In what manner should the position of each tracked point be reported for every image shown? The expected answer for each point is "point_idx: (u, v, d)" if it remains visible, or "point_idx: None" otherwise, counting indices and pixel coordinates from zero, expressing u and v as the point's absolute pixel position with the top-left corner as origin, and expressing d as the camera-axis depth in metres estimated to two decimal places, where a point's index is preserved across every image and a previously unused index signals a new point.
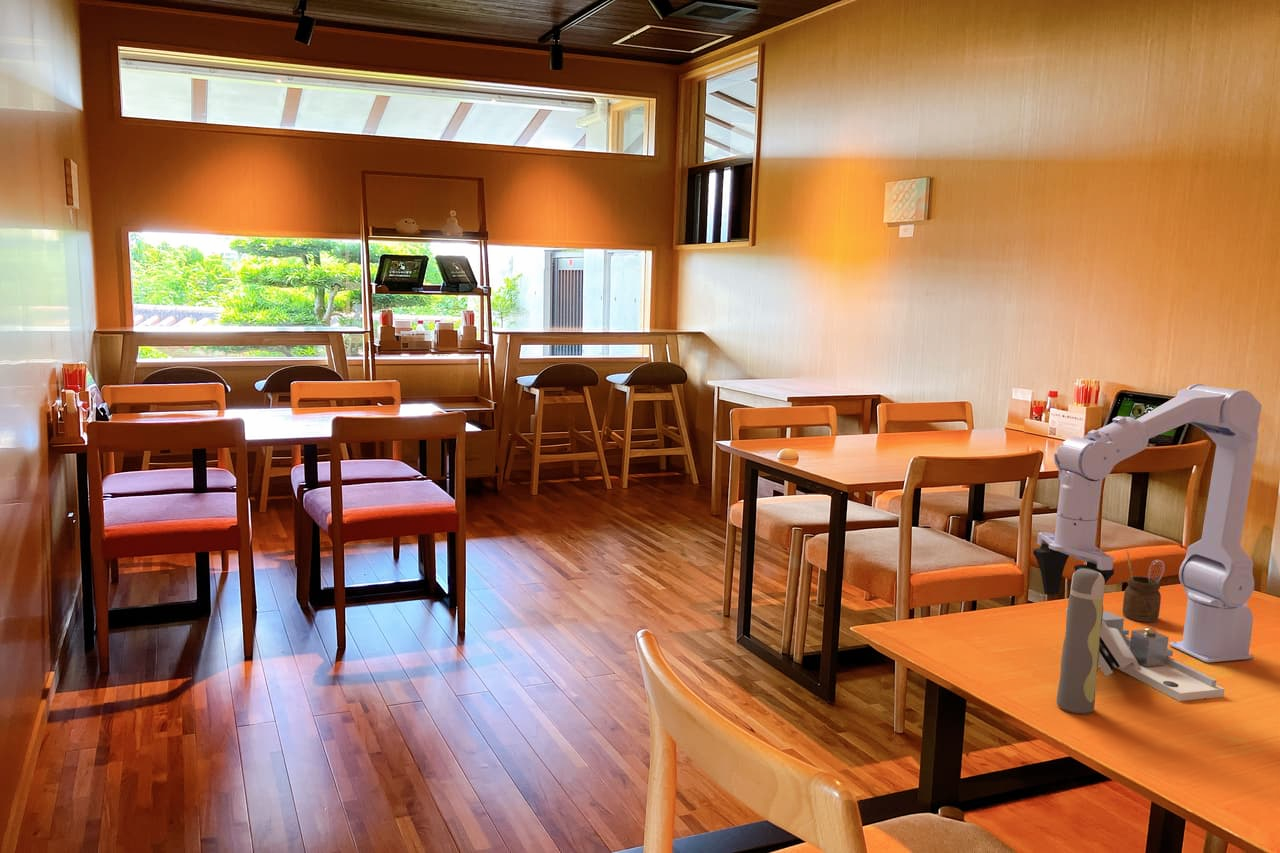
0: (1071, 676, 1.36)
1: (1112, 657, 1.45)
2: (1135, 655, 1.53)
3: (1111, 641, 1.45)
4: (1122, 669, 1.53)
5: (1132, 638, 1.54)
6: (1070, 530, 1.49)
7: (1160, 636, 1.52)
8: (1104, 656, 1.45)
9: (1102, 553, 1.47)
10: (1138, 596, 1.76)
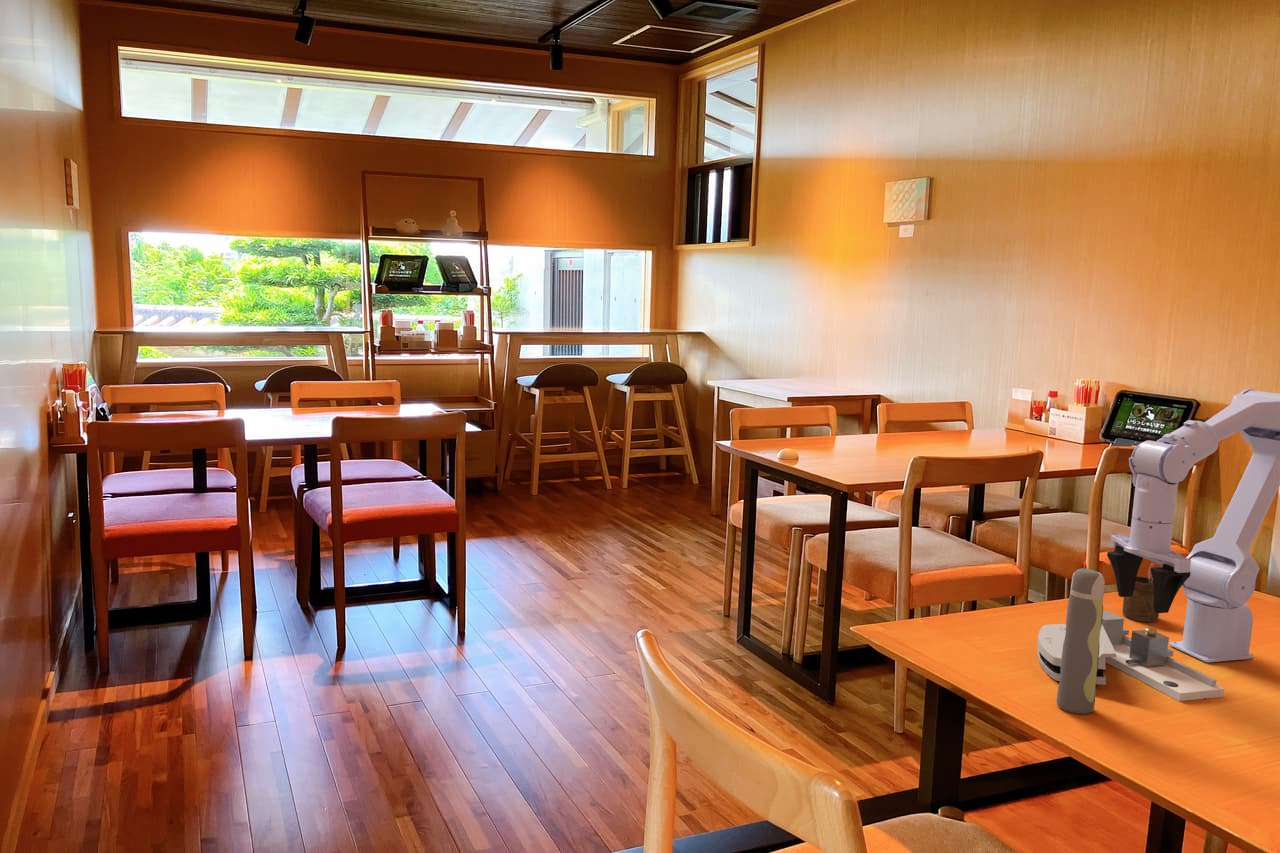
0: (1071, 676, 1.36)
1: None
2: (1135, 655, 1.53)
3: None
4: (1122, 669, 1.53)
5: (1132, 638, 1.54)
6: (1146, 533, 1.50)
7: (1160, 637, 1.51)
8: None
9: (1179, 556, 1.49)
10: (1138, 596, 1.76)
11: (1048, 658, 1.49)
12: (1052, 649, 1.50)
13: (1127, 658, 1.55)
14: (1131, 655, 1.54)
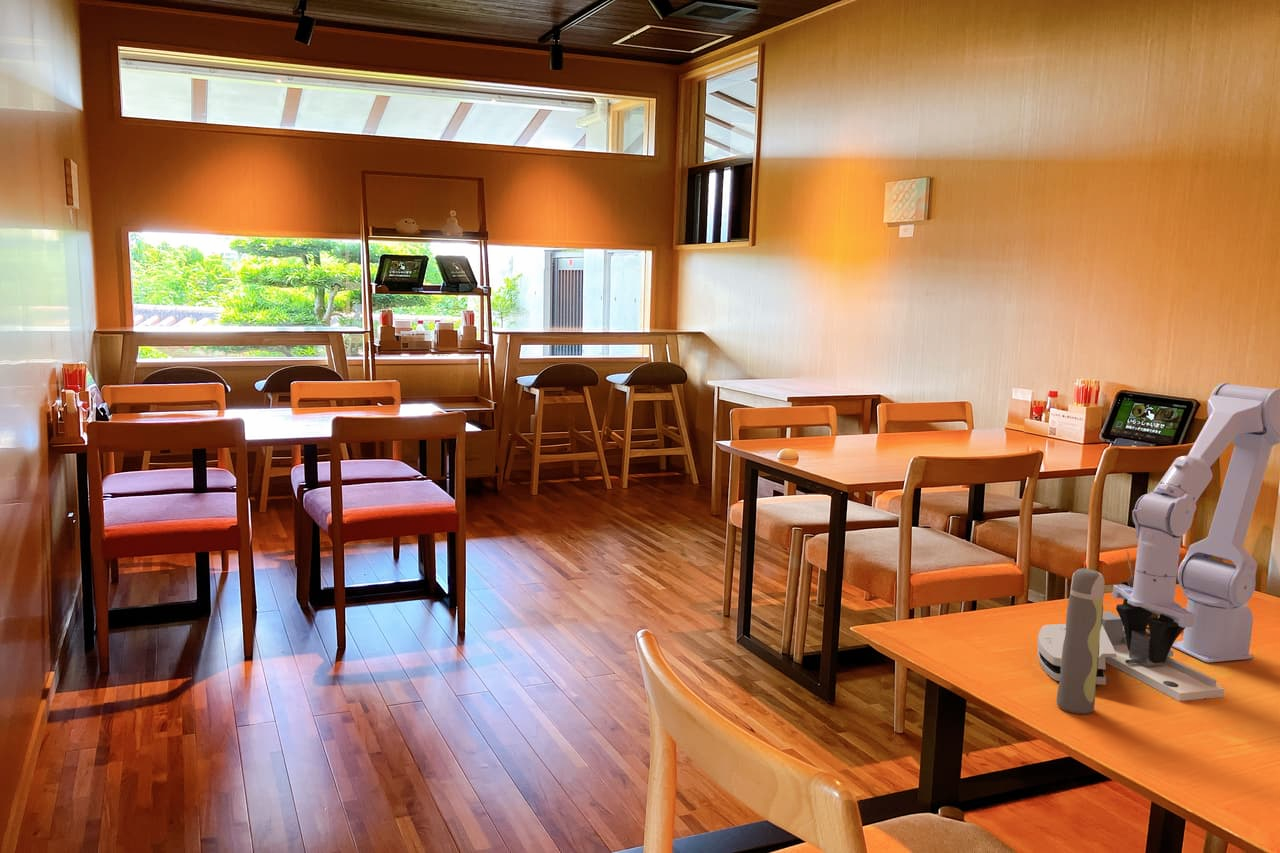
0: (1071, 676, 1.36)
1: None
2: (1135, 655, 1.53)
3: None
4: (1122, 669, 1.53)
5: (1132, 638, 1.54)
6: (1150, 586, 1.50)
7: None
8: None
9: (1183, 609, 1.48)
10: None
11: (1048, 658, 1.49)
12: (1052, 649, 1.50)
13: (1127, 658, 1.55)
14: (1131, 655, 1.54)
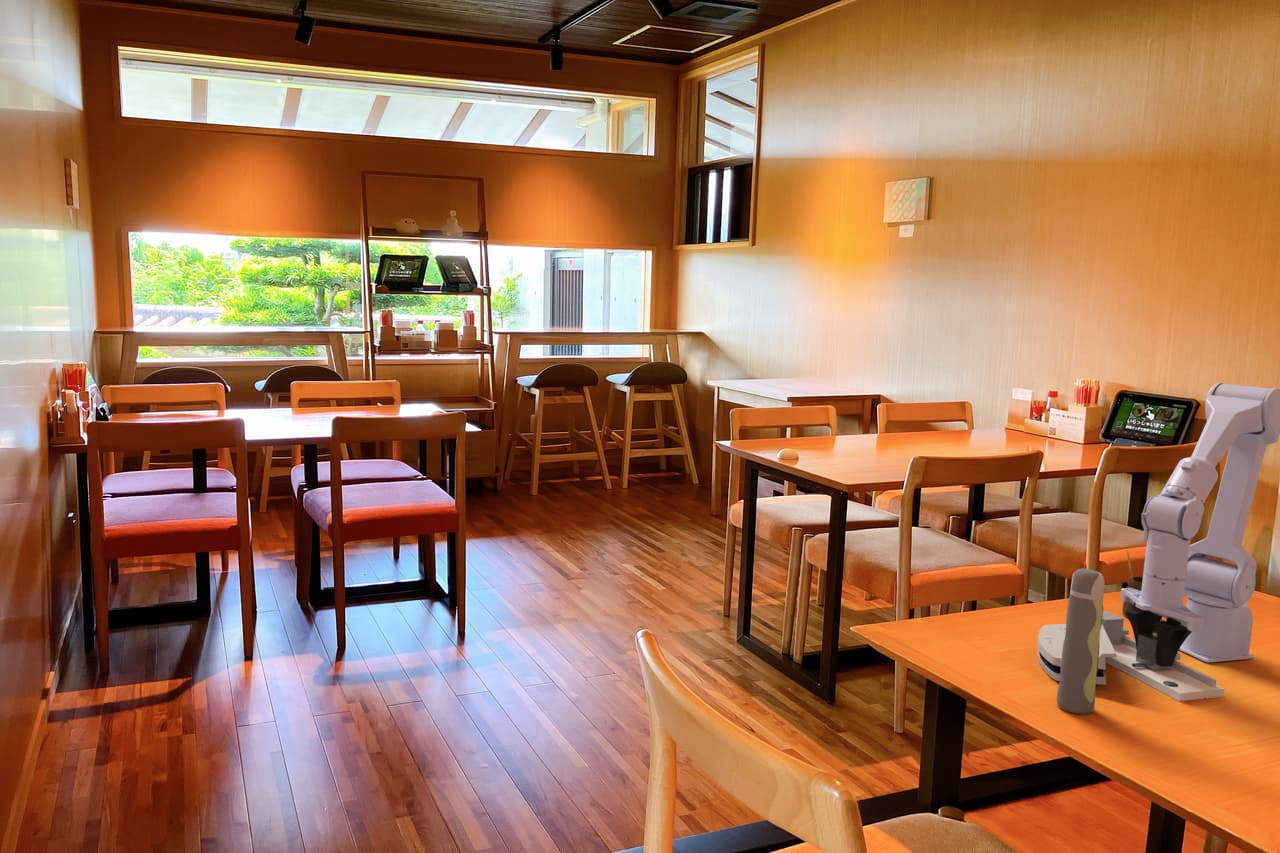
0: (1071, 676, 1.36)
1: None
2: (1142, 659, 1.52)
3: None
4: (1122, 669, 1.53)
5: (1139, 641, 1.52)
6: (1159, 589, 1.48)
7: None
8: None
9: (1192, 613, 1.46)
10: None
11: (1048, 658, 1.49)
12: (1052, 649, 1.50)
13: (1127, 658, 1.55)
14: (1138, 658, 1.53)
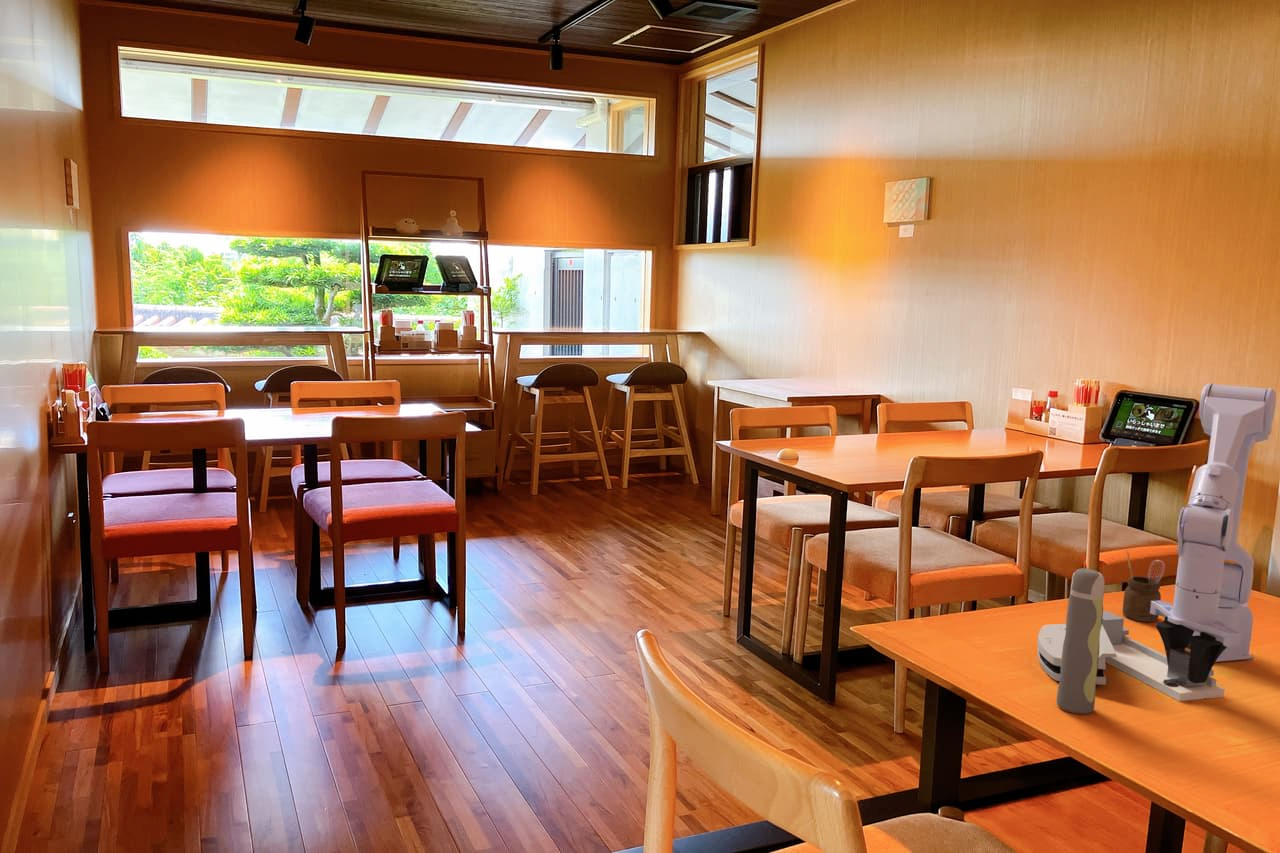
0: (1071, 676, 1.36)
1: None
2: (1174, 675, 1.46)
3: None
4: (1122, 669, 1.53)
5: (1171, 657, 1.46)
6: (1192, 603, 1.42)
7: None
8: None
9: (1227, 628, 1.40)
10: (1138, 596, 1.76)
11: (1048, 658, 1.49)
12: (1052, 649, 1.50)
13: (1127, 658, 1.55)
14: (1169, 674, 1.47)
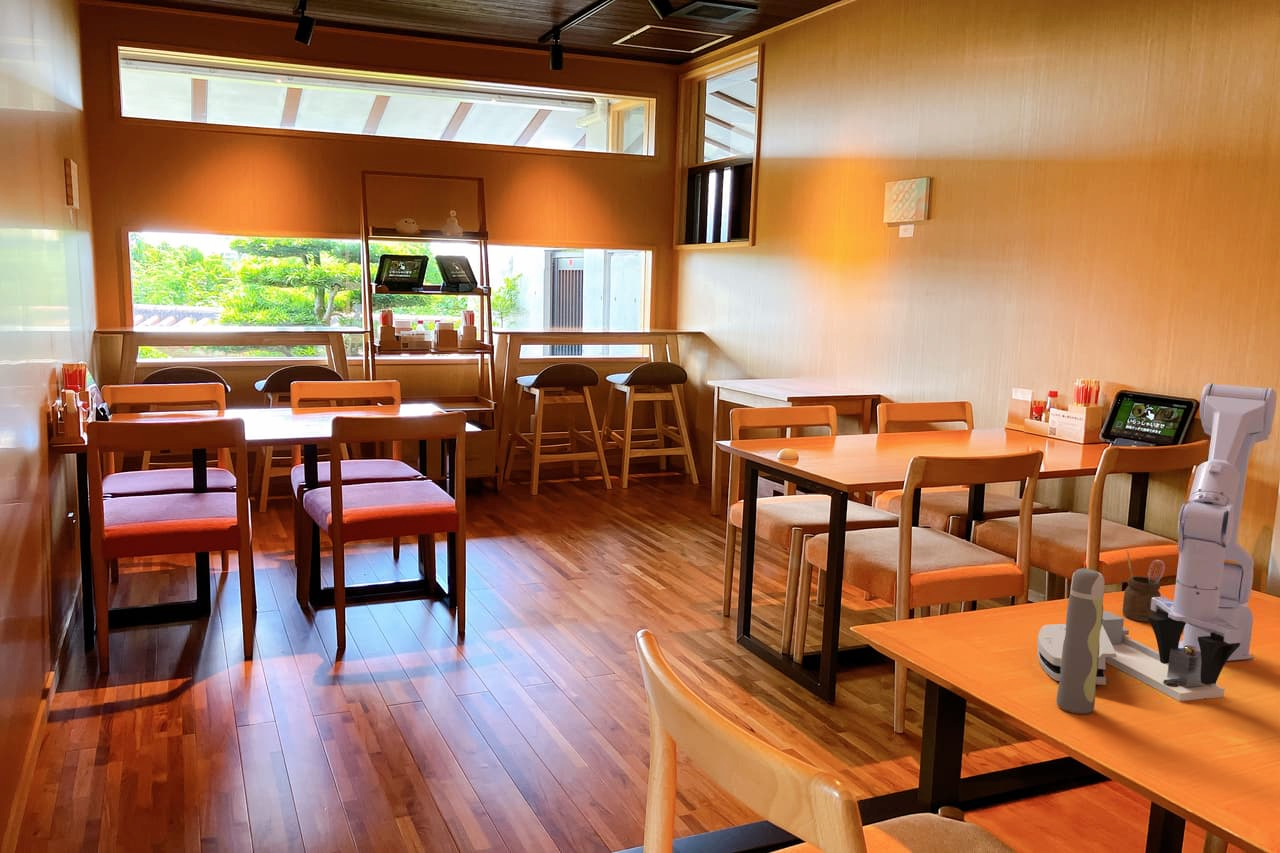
0: (1071, 676, 1.36)
1: None
2: (1174, 675, 1.46)
3: None
4: (1122, 669, 1.53)
5: (1171, 657, 1.46)
6: (1193, 599, 1.42)
7: None
8: None
9: (1228, 624, 1.40)
10: (1138, 596, 1.76)
11: (1048, 658, 1.49)
12: (1052, 649, 1.50)
13: (1127, 658, 1.55)
14: (1169, 674, 1.47)
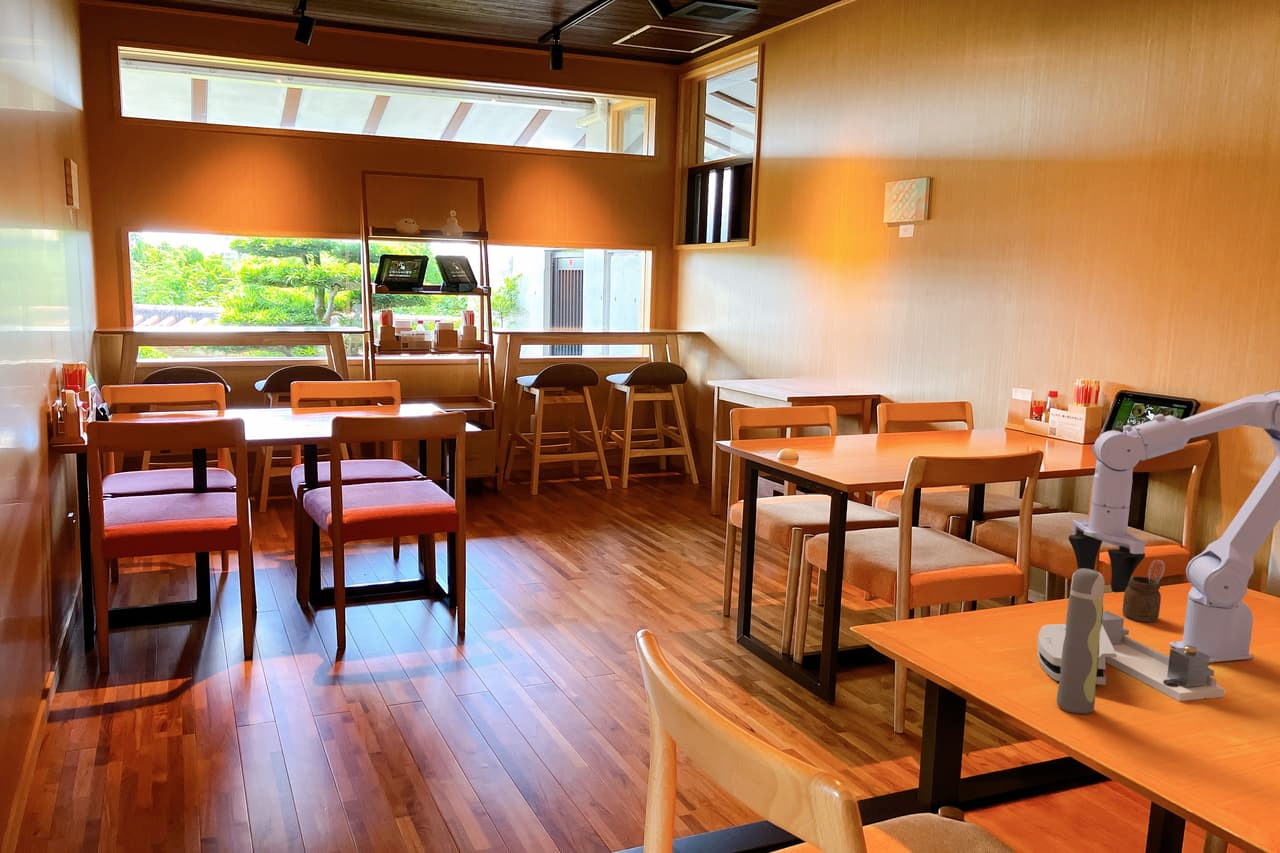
0: (1071, 676, 1.36)
1: None
2: (1174, 675, 1.46)
3: None
4: (1122, 669, 1.53)
5: (1171, 657, 1.46)
6: (1104, 517, 1.60)
7: (1201, 655, 1.44)
8: None
9: (1134, 538, 1.58)
10: (1138, 596, 1.76)
11: (1048, 658, 1.49)
12: (1052, 649, 1.50)
13: (1127, 658, 1.55)
14: (1169, 674, 1.47)
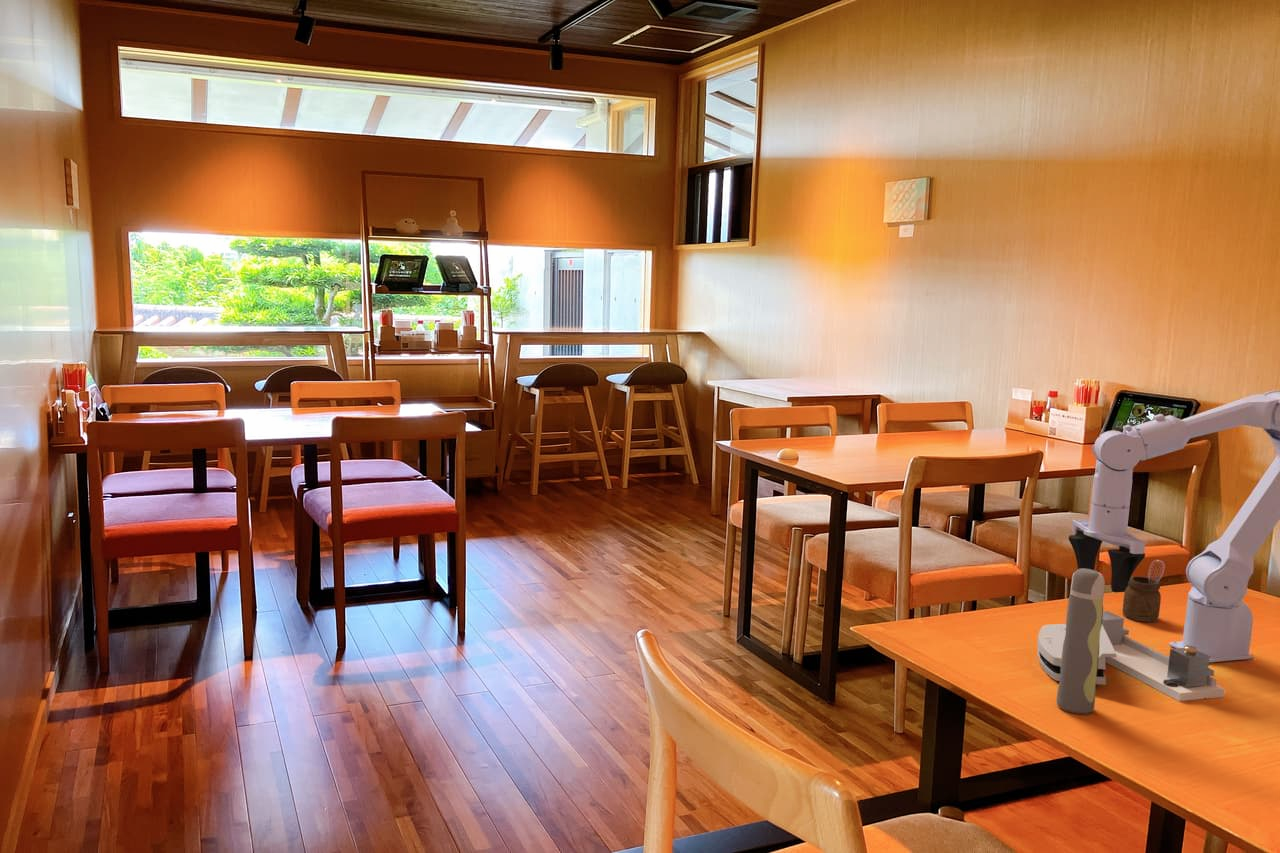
0: (1071, 676, 1.36)
1: None
2: (1174, 675, 1.46)
3: None
4: (1122, 669, 1.53)
5: (1171, 657, 1.46)
6: (1104, 517, 1.60)
7: (1201, 655, 1.44)
8: None
9: (1134, 538, 1.58)
10: (1138, 596, 1.76)
11: (1048, 658, 1.49)
12: (1052, 649, 1.50)
13: (1127, 658, 1.55)
14: (1169, 674, 1.47)
